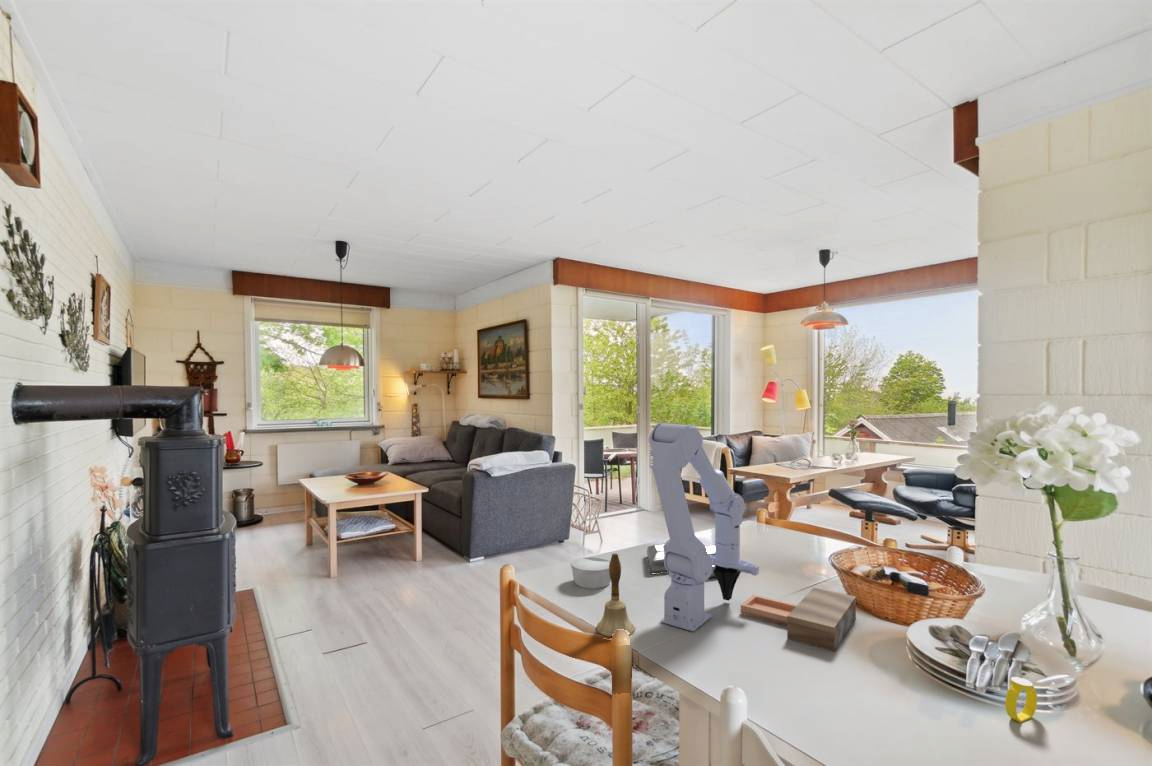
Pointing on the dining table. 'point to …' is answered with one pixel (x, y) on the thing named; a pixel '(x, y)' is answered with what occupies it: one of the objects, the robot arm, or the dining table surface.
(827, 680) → the dining table surface
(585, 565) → the ramekin
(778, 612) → the shallow pink tray
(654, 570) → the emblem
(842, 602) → the wooden block
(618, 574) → the hand bell
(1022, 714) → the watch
